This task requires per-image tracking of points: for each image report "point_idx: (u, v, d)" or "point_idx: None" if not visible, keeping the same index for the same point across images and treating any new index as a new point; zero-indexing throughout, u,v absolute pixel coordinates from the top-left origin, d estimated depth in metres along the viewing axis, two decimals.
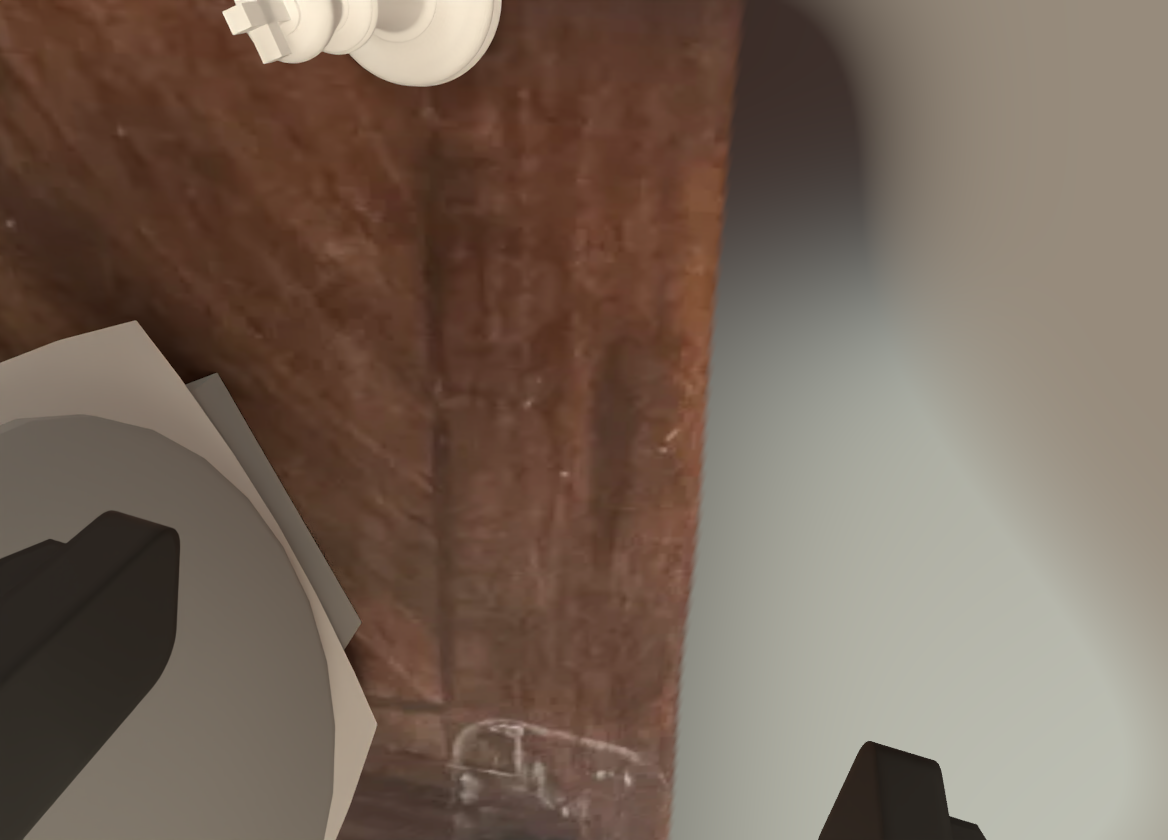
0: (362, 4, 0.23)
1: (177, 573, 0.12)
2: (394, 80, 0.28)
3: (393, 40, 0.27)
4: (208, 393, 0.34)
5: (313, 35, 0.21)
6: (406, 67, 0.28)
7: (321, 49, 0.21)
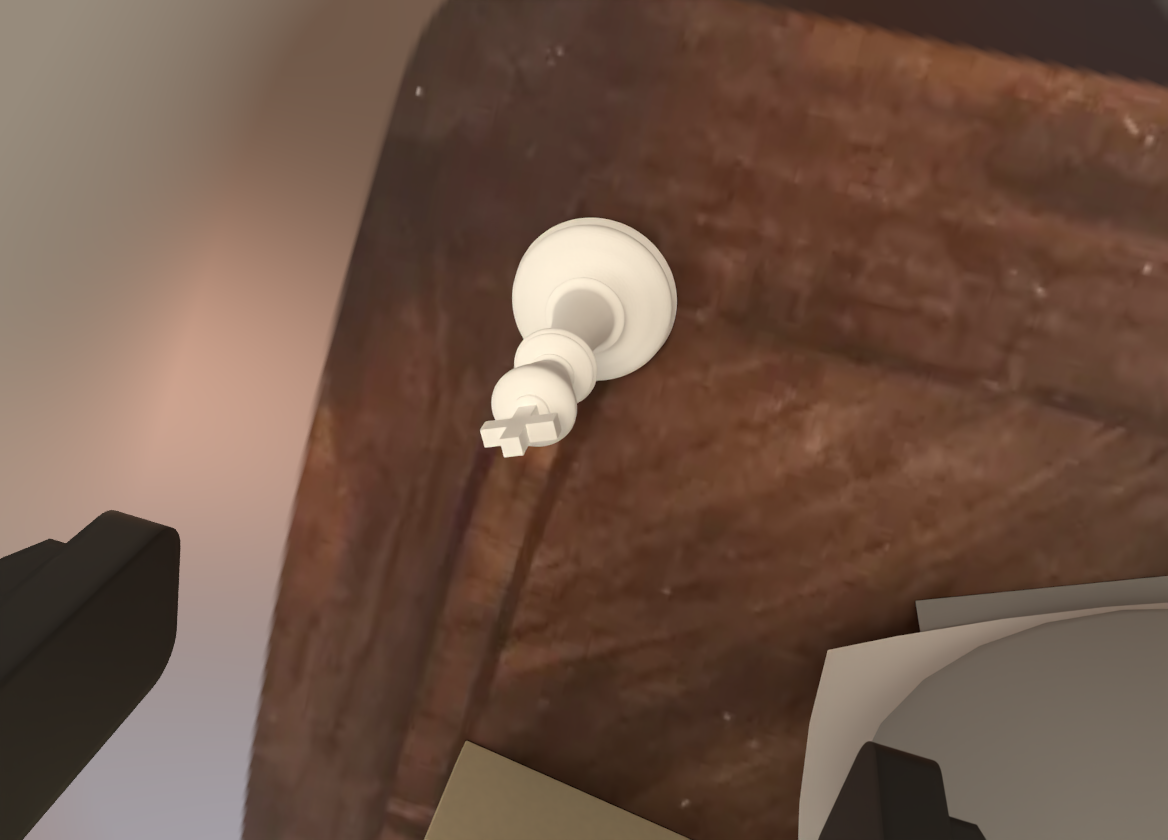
0: (557, 342, 0.25)
1: (177, 573, 0.12)
2: (661, 337, 0.30)
3: (621, 328, 0.29)
4: (931, 616, 0.32)
5: (553, 390, 0.23)
6: (651, 323, 0.30)
7: (567, 387, 0.23)
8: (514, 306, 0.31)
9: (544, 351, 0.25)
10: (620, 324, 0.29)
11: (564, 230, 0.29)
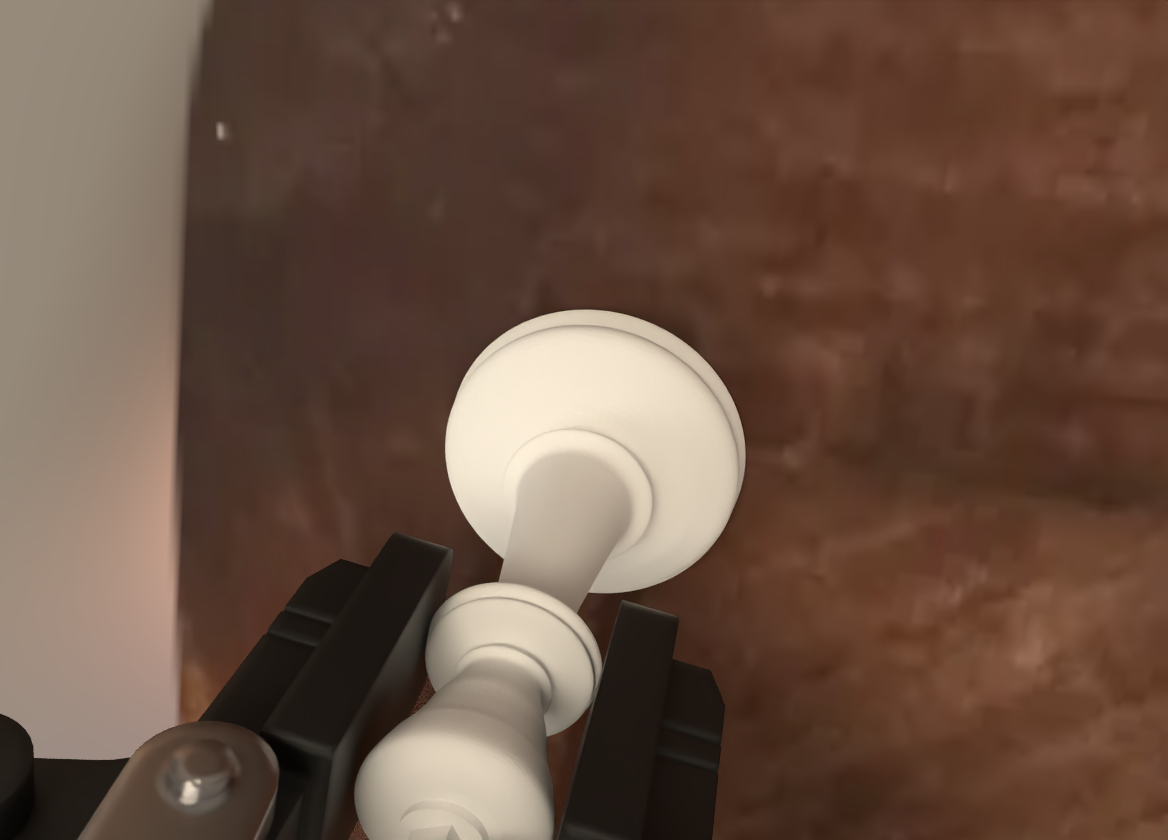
0: (502, 617, 0.12)
1: (446, 590, 0.13)
2: (725, 510, 0.16)
3: (648, 510, 0.15)
4: None
5: (487, 786, 0.09)
6: (702, 490, 0.16)
7: (522, 771, 0.10)
8: (453, 485, 0.17)
9: (478, 639, 0.12)
10: (644, 505, 0.15)
11: (517, 344, 0.16)
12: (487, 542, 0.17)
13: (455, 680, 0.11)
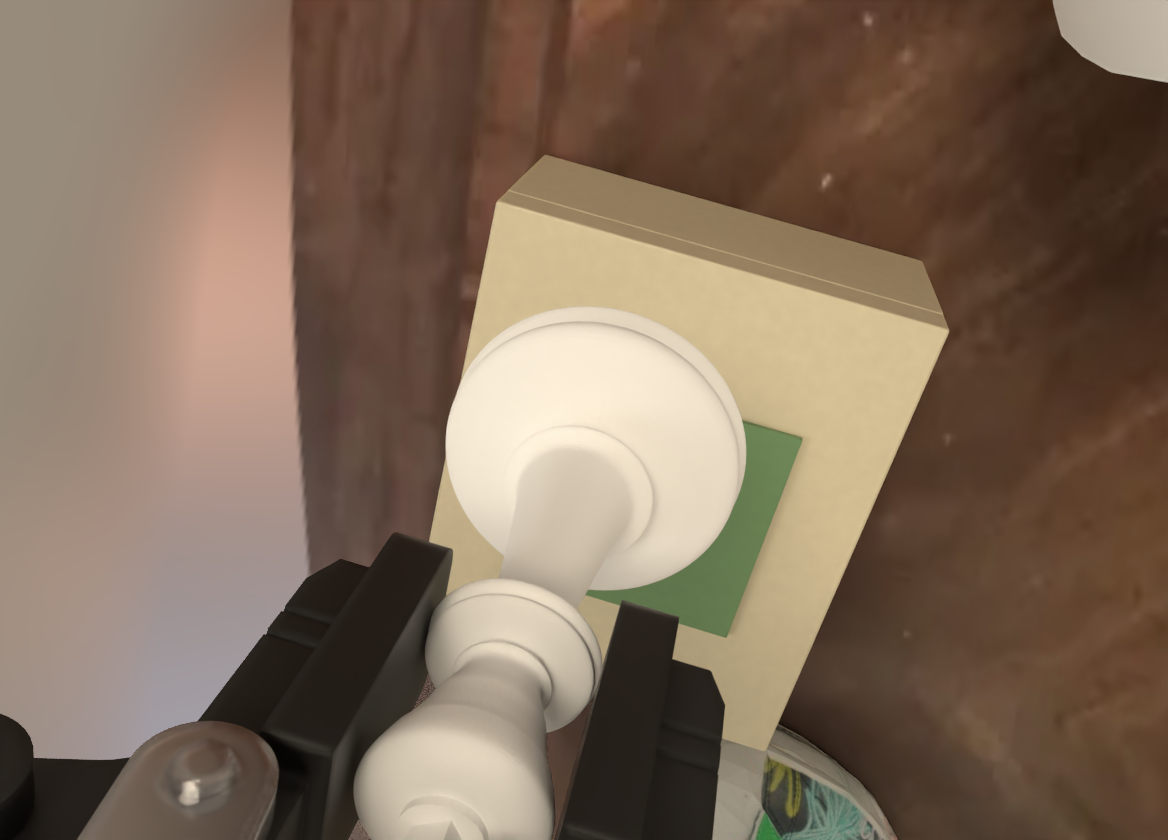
0: (502, 612, 0.12)
1: (446, 590, 0.13)
2: (726, 507, 0.16)
3: (648, 507, 0.15)
4: None
5: (486, 782, 0.09)
6: (703, 486, 0.16)
7: (521, 767, 0.10)
8: (453, 482, 0.17)
9: (478, 635, 0.12)
10: (645, 502, 0.15)
11: (517, 340, 0.16)
12: (487, 539, 0.17)
13: (455, 676, 0.11)
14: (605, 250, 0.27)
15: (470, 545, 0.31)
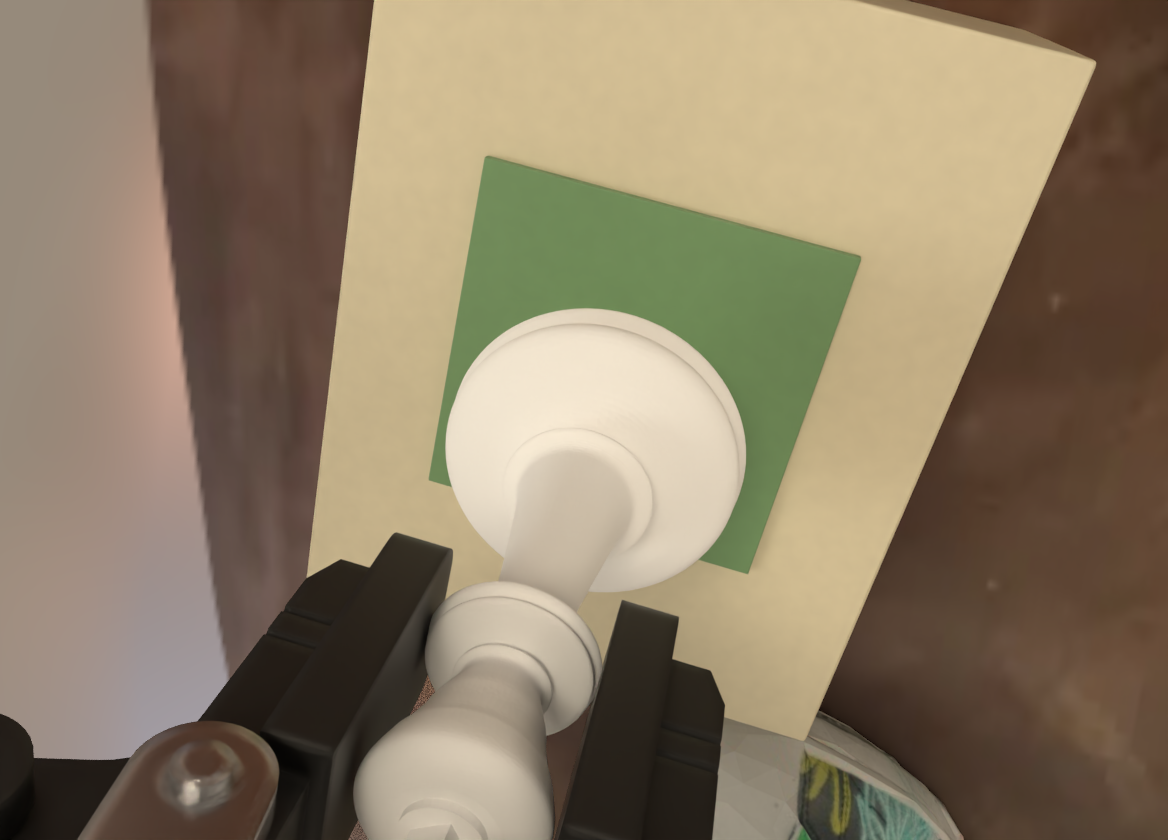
0: (502, 616, 0.11)
1: (446, 590, 0.13)
2: (726, 510, 0.16)
3: (648, 509, 0.15)
4: None
5: (486, 785, 0.09)
6: (703, 489, 0.16)
7: (521, 770, 0.10)
8: (453, 484, 0.17)
9: (478, 638, 0.12)
10: (645, 504, 0.15)
11: (517, 343, 0.16)
12: (487, 541, 0.17)
13: (455, 679, 0.11)
14: None
15: (379, 445, 0.22)
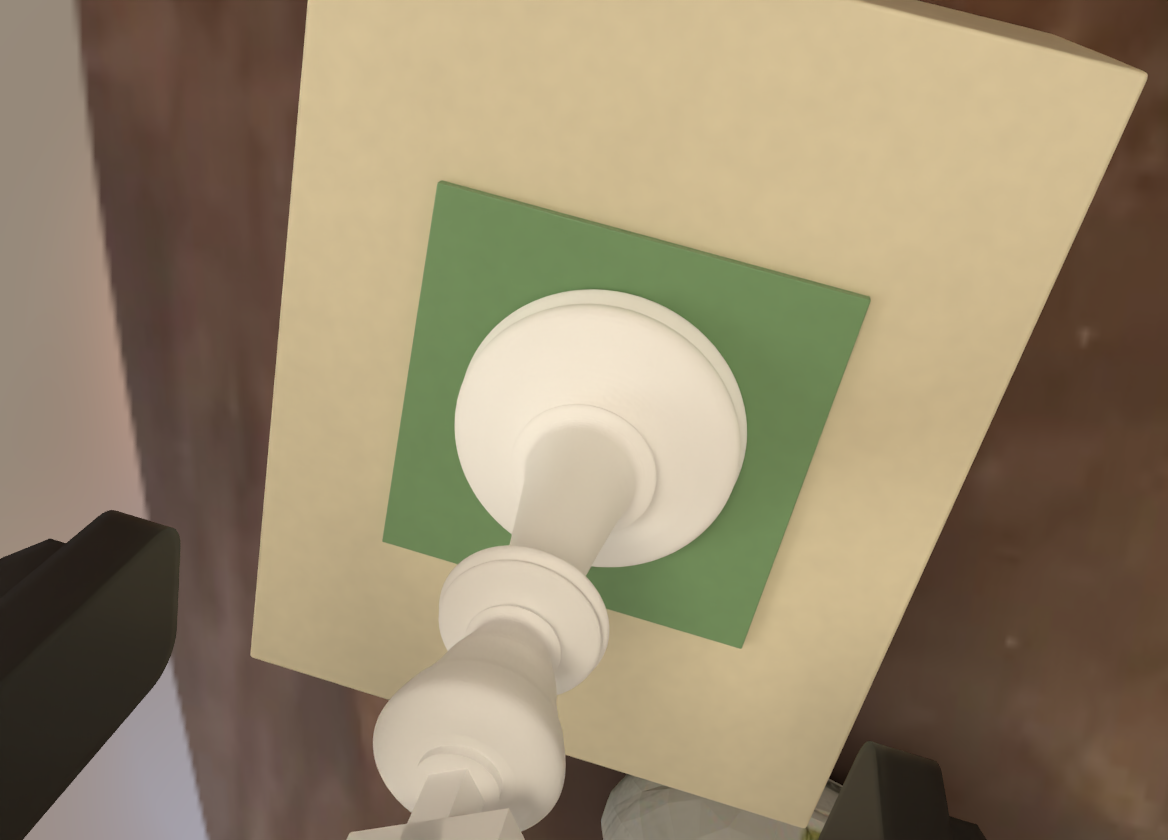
0: (513, 577, 0.12)
1: (177, 573, 0.12)
2: (728, 485, 0.17)
3: (652, 484, 0.16)
4: None
5: (501, 731, 0.10)
6: (705, 464, 0.16)
7: (534, 717, 0.10)
8: (462, 461, 0.17)
9: (490, 599, 0.12)
10: (649, 478, 0.16)
11: (524, 323, 0.16)
12: (495, 517, 0.18)
13: (468, 636, 0.11)
14: None
15: (327, 502, 0.20)
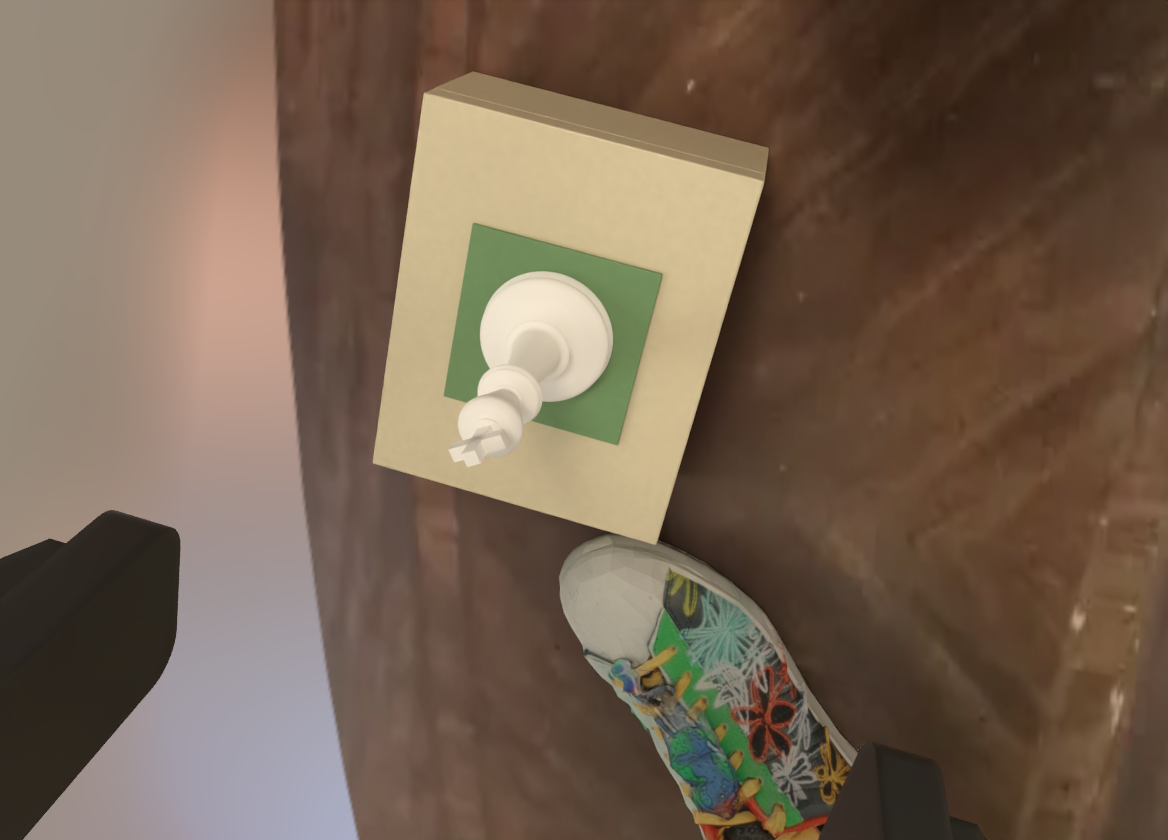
0: (506, 375, 0.32)
1: (177, 573, 0.12)
2: (603, 359, 0.37)
3: (567, 356, 0.36)
4: None
5: (501, 412, 0.30)
6: (592, 348, 0.37)
7: (512, 408, 0.30)
8: (483, 351, 0.38)
9: (497, 383, 0.32)
10: (566, 353, 0.36)
11: (511, 285, 0.37)
12: None
13: (489, 392, 0.32)
14: (506, 128, 0.35)
15: (416, 377, 0.40)
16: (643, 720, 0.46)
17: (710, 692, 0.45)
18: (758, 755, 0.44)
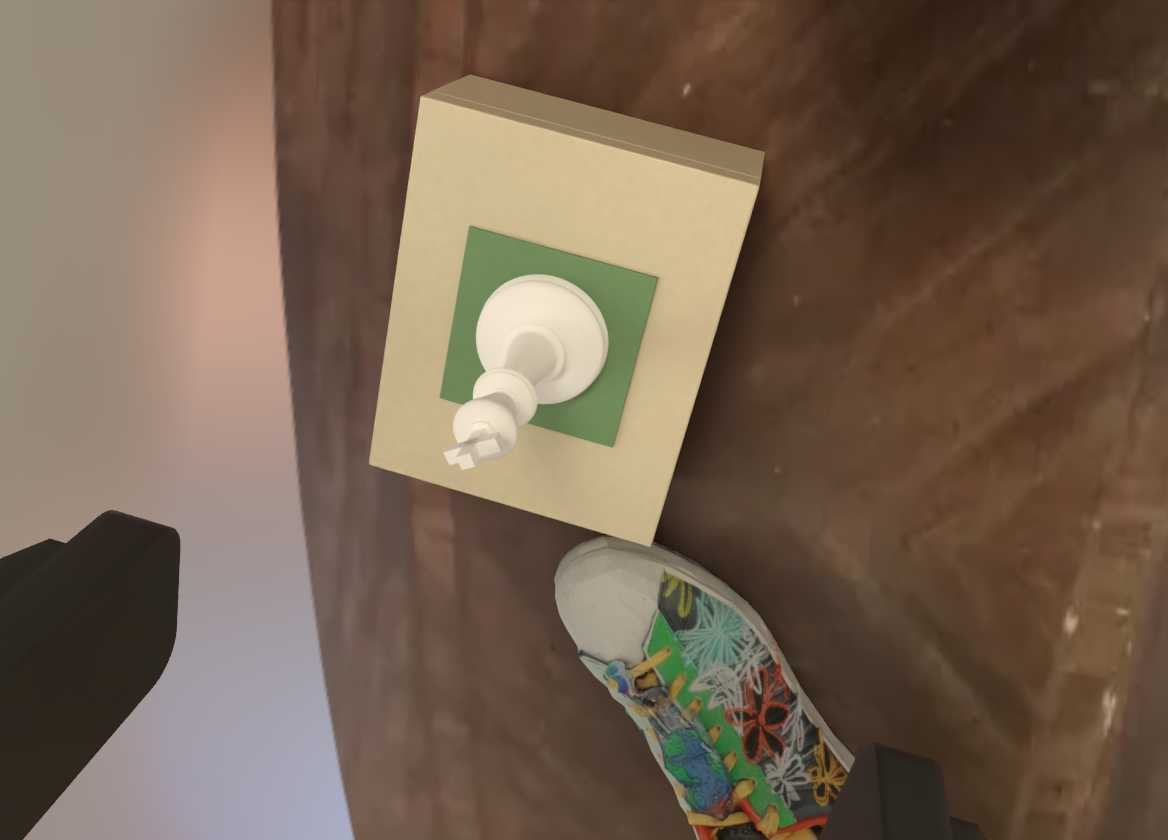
0: (501, 378, 0.33)
1: (177, 573, 0.12)
2: (598, 362, 0.37)
3: (563, 359, 0.36)
4: None
5: (496, 415, 0.30)
6: (587, 351, 0.37)
7: (507, 411, 0.31)
8: (479, 353, 0.38)
9: (492, 386, 0.33)
10: (561, 356, 0.36)
11: (507, 288, 0.37)
12: None
13: (485, 395, 0.32)
14: (502, 132, 0.35)
15: (412, 379, 0.40)
16: (637, 721, 0.46)
17: (704, 694, 0.45)
18: (752, 756, 0.45)
